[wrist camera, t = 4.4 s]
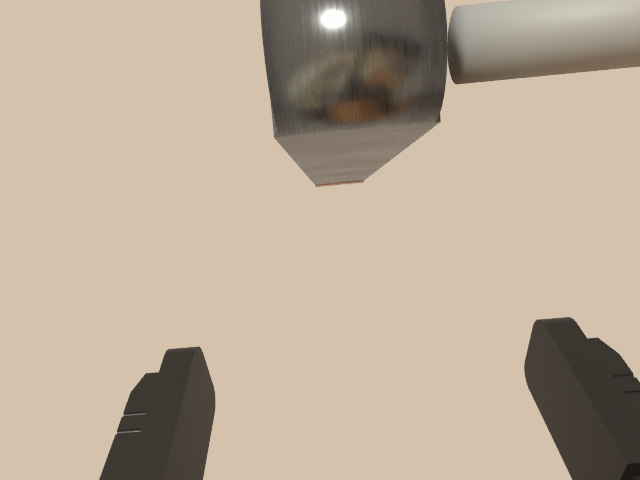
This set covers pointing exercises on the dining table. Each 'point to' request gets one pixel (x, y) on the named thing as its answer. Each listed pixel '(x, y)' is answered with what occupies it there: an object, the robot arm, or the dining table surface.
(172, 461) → the robot arm
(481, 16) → the stand
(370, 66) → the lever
